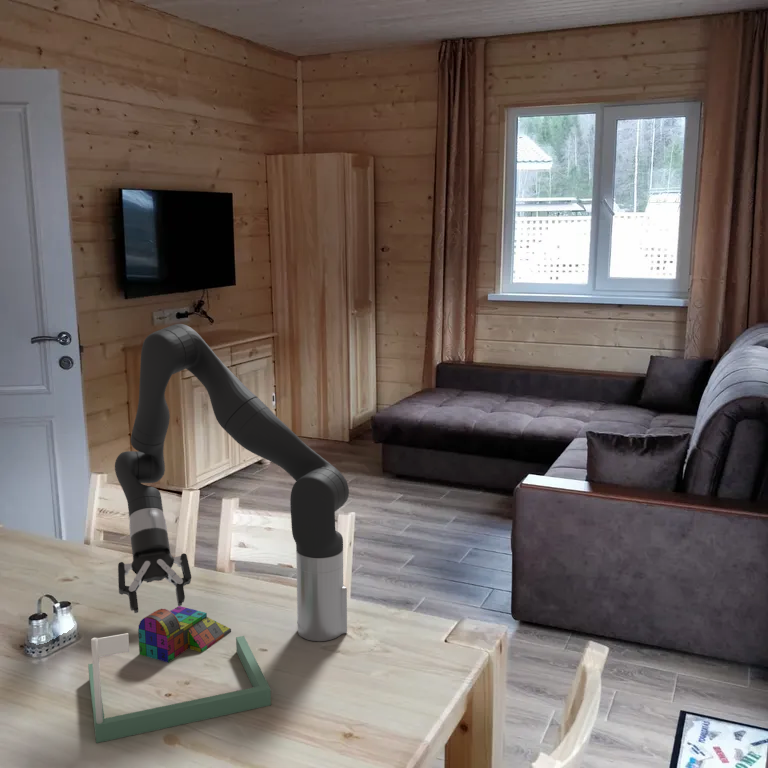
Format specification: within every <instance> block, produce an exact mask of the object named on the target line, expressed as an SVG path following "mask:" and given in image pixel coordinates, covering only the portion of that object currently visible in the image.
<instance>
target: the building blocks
mask: <svg viewBox="0 0 768 768" xmlns="http://www.w3.org/2000/svg"><path fill="white" fill-rule="evenodd" d="M231 632H232V628H230V627H228V626H226V625H224V624H222V623H221V622H218V621H216V620H214V619H212V618H210V617H208V613H207V612H204V611H201V610H197V609H193V608H188V607H185V606H178V605H177V607H175V608H173V609H171V610H168V609H166V608H160V609H157V610H155V611H153V612H152V613H150V614H148V615H146V616H144V617H143V618H142V619H141V620H140V621H139V624H138V629H137V633H138V648H139V649H138V651H139V653H138V654H139V655H141V656H144V657H148V658H151V659H154V660H158V661H161V662H165V663H170V662H171V661H173V660H174V659H175V658H177V657H179V656H180V655H182V654H183V653H184V652H186V651H188V650H192V651H195V652H198V653H203V652H204V651H207V649H209V648H211V647H212V646H213V645H215V644H216V643H217V642H219V641H220V640H222V639H223V638H225V637H226V636H227V635H228V634H230V633H231Z"/></svg>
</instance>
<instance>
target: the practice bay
mask: <svg viewBox="0 0 768 768" xmlns="http://www.w3.org/2000/svg"><path fill="white" fill-rule="evenodd" d="M129 638H130V637H129V633H128V632H126V633H121V634H114V635H109V636H104V637H93V638H91V639H90V645H91V661H92V663H88V678H89V689H90V697H91V706H92V708H91V709H92V715H93V717H92V718H93V727H94V734H95V743H96V744H99V743H103V742H107V741H112V740H117V739H123V738H125V737H131V736H135V735H139V734H140V735H141V734H145V733H149V732H150V733H151V732H154V731H158V730H163V729H168V728H172V727H177V726H182V725H186V724H189V723H195V722H199V721H205V720H209V719H214V718H218V717H223V716H227V715H231V714H237V713H241V712H246V711H251V710H255V709H259V708H264V707H268V706H271V705H272V697H271V695H272V694H271V690H272V689H271V687H270V685H269V683H268V681H267V680H266V677H265V675H264V672H263V671H262V670H261V666H260V665H259V663H258V661H257V660H256V657H255V656H254V653H253V651H252V649H251V647H250V645H249V643H248V642H247V639H246V637H245V635H242V636H241V635H240V636H236V637H235V644H236V646H235V650H236V654H237V656H238V657H239V660H240V662H241V665H242V667H243V669H244V672H245V673H246V675H247V677H248V680H249V682H250V685H251V686H252V687H249V688H245V689H240V690H235V691H231V692H226V693H221V694H214V695H211V696H206V697H202V698H201V697H200V698H197V699H191V700H187V701H183V702H177V703H176V702H175V703H173V704H167V705H163V706H158V707H153V708H148V709H143V710H139V711H134V712H129V713H124V714H118V715H115V716H110V717H105V712H104V704H103V697H102V681H101V667H100V666H101V665H100V657H101V658H102V657H107V656H113V655H114V656H115V655H119V654H125V653H129V652H130V642H129V641H130V639H129Z"/></svg>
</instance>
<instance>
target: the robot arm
mask: <svg viewBox="0 0 768 768" xmlns="http://www.w3.org/2000/svg"><path fill="white" fill-rule="evenodd" d="M139 366H140V367H139V368H140V371H139V387H138V389H139V390H138V391H139V392H138V394H139V395H138V402H137V403H138V404H137V409H136V415H135V419H134V423H133V427H132V431H131V436H130V443H131V444H130V445H131V446H132V447H133V448H134V449H135V450H136V451H133V450H132V451H131V450H130V451H129V450H128V451H122V452H120V453H119V454H118V456H117V457H116V459H115V463H114V472H115V475H116V478H117V480H118V482H119V485H120V487H121V489H122V491H123V495H124V496H125V499H126V500H127V501H126V502H127V507H128V516H129V538H130V544H131V552H132V562H131V563H125V562H123V561H121V562H119V563H117V577H118V594H119V595H127V596H128V599H129V601H128V602H129V609H130V611H133V612H134V614H137V613H139V605H138V595H137V591H138V590H139V588H140V587H141V586H142V584H143V582H146V583H152V582H155V581H156V582H157V581H158V582H159V581H163V580H164V579H165V580H166V581H168V582H169V583H171V584H172V585H173V586H174V587H175V595H176V600H177V602H176V603H177V607H178V606H181V607H183V603H184V602H185V598H186V596H185V589H184V586H187V585H189V584H191V581H192V573H191V569H190V565H189V560H188V555H187V554H186V553H183V552H182V554H181V555H179V556H178V555H177V556H174V557H173V555H172V554H171V549H170V547H171V546H170V540H169V535H168V527H167V522H166V518H165V515H164V509H163V508H164V507H163V499H162V495H161V491H160V490H159V489H157V488H156V487H154V486H150V485H146V484H154V483H157V482H159V481H160V480H161V479H162V478H163V477H164V475H165V472H166V468H165V467H166V465H165V464H166V463H165V455H164V450H165V448H164V445H165V440H166V436H167V432H168V429H169V424H170V420H171V419H170V417H171V416H170V410H169V406H168V403H167V401H166V395H165V393H166V389H167V387H168V384H169V381H170V379H171V377H172V375H174V374H178V373H179V372H182V371H184V370H187V371H189V372H190V373H191V374H192V375H193V376H194V377H196V378H197V380H198V381H199V382H200V383H201V384H202V385H203V386H204V388H205V390H206V391H207V394H208V397H209V400H210V404H211V407H212V411H213V413H214V417H215V419H216V421H217V423H218V424H219V425H220V427H221V428H222V429H223V430H224V431H225V432H226V433H227V434H228V435H229V436H230V437H231V438H232V439H233V440H234V441H235V442H236V443H237V444H239V446H241V447H243V449H245V450H247V451H248V452H250V453H253V454H254V455H256V456H258V457H260V458H262V459H265V460H267V461H269V462H270V463H273V464H275V465H277V466H279V467H280V468H281V469H283V470H284V471H285V472H286V473H287V474H288V475H290V477H292V478H293V479H294V480H295V482H294V484H293V486H292V488H291V492H290V497H289V498H290V499H289V500H290V503H289V504H290V505H289V506H290V522H291V534H292V539H293V540H294V542H295V547H296V552H295V554H296V556H295V557H296V558H295V559H296V560H295V561H296V605H297V606H296V607H297V611H296V613H297V614H296V615H297V621H296V623H297V634H298V635H299V636H300V637H301V638H303V639H305V640H308V641H314V642H325V641H326V642H327V641H331V640H333V639H337V638H338V637H340V636H341V635H344V634H346V633H348V599H347V598H348V590H347V589H348V588H347V586H346V585H344V537H343V535H342V534H341V533H340V532H339V531H337V529H336V518H335V517H336V512H337V511H338V510H339V509H340V508H341V507H342V506H344V505H345V503H346V502H347V501H348V499H349V495H350V489H349V487H350V486H349V485H348V482H347V480H346V478H345V476H344V474H342V473H341V471H340V470H339V469H338V468H337V467H335V466H334V465H333V464H331V463H330V462H329V461H327V460H326V459H325V458H323V457H322V456H321V455H320V454H318V453H317V452H316V451H315V450H313V449H312V448H311V447H310V446H308V445H307V444H306V443H305V442H304V441H303V440H302V439H301V438H300V437H299V436H298V435H297V434H296V433H295V432H293V430H292V429H290V428H289V426H287V425H286V424H285V422H283V421H282V420H281V419H280V418H279V417H278V416H277V415H276V414H275V413H274V412H273V411H272V410H271V409H270V407H268V405H266V404H265V402H264V401H262V400H261V399H260V398H259V397H258V396H257V395H256V394H255V393H254V392H252V391H251V390H250V389H249V388H248V387H247V386H246V385H245V384H244V383H242V381H241V380H240V379H239V378H238V377H237V376H236V375H235V374H234V373H233V372H232V371H231V369H229V368H228V366H227V365H225V364H224V363H223V361H222V360H221V359H220V358H219V356H217V354H216V353H215V352H214V351H213V349H212V348H211V347H210V345H208V343H206V341H205V339H203V337H202V336H201V335H200V334H199V333H198V332H197V331H196V330H195V329H193V328H192V327H190V326H188V325H187V324H183V323H176V324H172V325H169V326H166V327H164V328H162V329H158V330H156V331H154V332H151V333H150V334H148V335H147V336H146V337H145V338H144V340H143V343H142V347H141V353H140V365H139ZM175 564H176V565H177V567H179V568H181V571H182V577H180V575H178V574H177V573H176V571H175V570H173V565H175ZM130 570H132V571H133V573H134V574H135V577H134V579H133V580H132V582H131V584H130V585H126V576H127V575H129V571H130Z"/></svg>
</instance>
